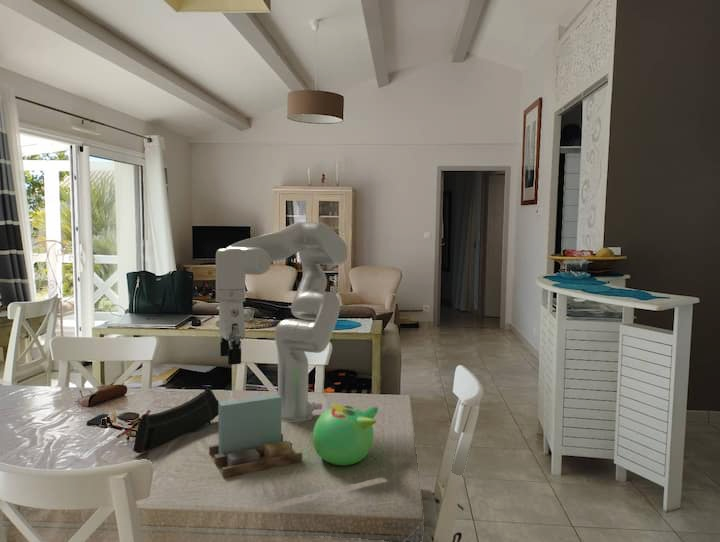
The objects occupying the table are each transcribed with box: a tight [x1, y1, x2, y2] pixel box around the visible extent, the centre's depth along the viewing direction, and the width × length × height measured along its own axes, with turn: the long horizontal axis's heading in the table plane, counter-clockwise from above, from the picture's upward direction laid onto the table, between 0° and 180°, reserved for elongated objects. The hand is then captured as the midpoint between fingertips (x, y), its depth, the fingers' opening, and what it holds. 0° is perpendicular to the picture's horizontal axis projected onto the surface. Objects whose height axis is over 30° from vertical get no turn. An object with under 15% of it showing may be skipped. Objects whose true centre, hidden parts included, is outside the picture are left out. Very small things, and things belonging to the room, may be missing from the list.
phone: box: [86, 413, 109, 427], centre depth 161 cm, size 8×1×15 cm
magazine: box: [132, 387, 219, 454], centre depth 150 cm, size 17×3×30 cm
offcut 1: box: [227, 449, 260, 467], centre depth 131 cm, size 7×4×3 cm, turn 118°
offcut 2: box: [264, 440, 293, 459], centre depth 135 cm, size 6×4×4 cm, turn 118°
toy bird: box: [312, 403, 379, 467], centre depth 136 cm, size 18×17×15 cm
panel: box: [217, 393, 282, 454], centre depth 139 cm, size 16×3×14 cm, turn 118°
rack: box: [208, 432, 303, 480], centre depth 136 cm, size 20×16×3 cm
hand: (230, 359), depth 139 cm, fingers open, 9 cm apart
